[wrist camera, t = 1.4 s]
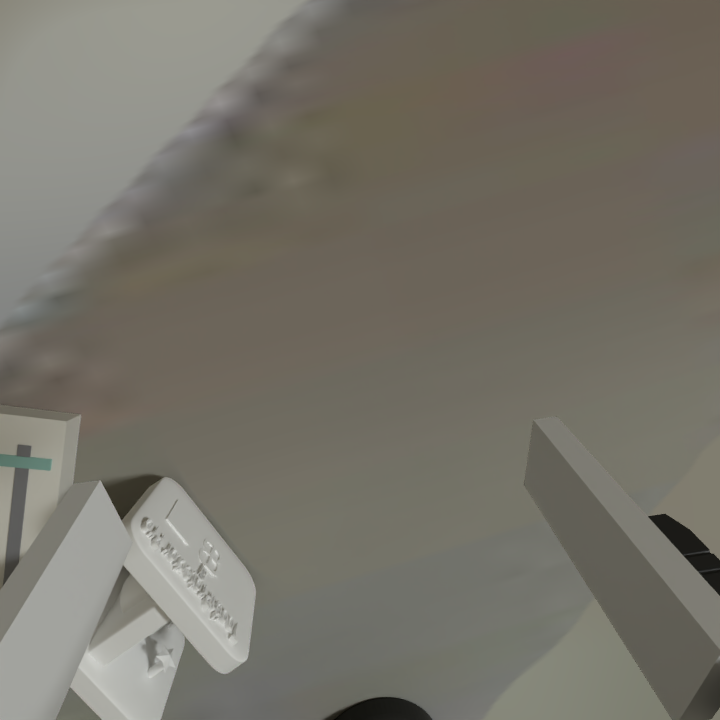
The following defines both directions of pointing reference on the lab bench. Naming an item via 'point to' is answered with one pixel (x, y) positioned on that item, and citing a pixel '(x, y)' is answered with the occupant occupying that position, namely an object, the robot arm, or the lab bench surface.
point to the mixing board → (32, 475)
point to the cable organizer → (165, 608)
